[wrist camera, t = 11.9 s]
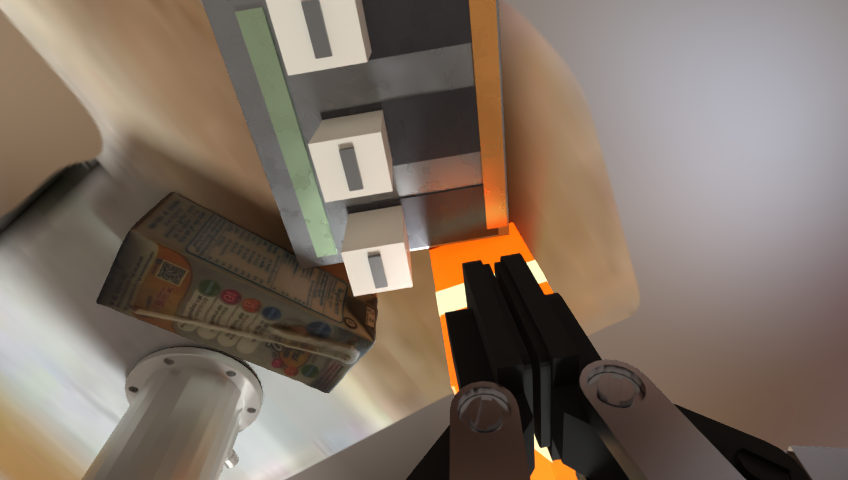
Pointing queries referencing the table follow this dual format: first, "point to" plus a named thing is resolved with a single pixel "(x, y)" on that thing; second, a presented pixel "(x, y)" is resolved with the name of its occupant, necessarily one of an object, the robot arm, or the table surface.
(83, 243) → the table surface
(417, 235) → the panel
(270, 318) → the beverage carton
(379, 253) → the breaker
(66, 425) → the table surface
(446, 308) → the orange juice
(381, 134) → the breaker mid
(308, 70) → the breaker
